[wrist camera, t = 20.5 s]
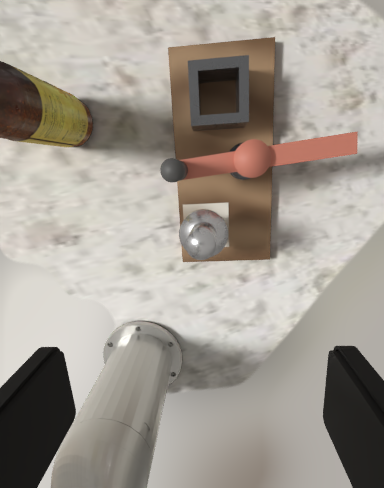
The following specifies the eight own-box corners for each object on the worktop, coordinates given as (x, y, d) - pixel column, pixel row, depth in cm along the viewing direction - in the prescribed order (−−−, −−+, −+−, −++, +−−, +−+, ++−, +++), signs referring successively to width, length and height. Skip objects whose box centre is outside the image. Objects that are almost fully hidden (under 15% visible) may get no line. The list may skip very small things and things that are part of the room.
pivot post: (261, 178, 33) (270, 180, 28) (226, 180, 34) (229, 182, 29) (261, 141, 32) (271, 136, 27) (225, 144, 33) (228, 139, 28)
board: (268, 257, 37) (270, 259, 36) (183, 259, 38) (182, 262, 37) (273, 41, 30) (275, 36, 29) (169, 51, 31) (168, 47, 30)
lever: (173, 188, 29) (164, 193, 23) (167, 154, 28) (157, 150, 23) (350, 162, 27) (386, 160, 21) (350, 124, 26) (388, 112, 21)
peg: (226, 245, 36) (229, 272, 26) (185, 245, 36) (173, 272, 27) (227, 203, 34) (229, 216, 25) (184, 204, 35) (170, 217, 25)
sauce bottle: (82, 88, 33) (-94, -25, 14) (102, 138, 34) (-32, 98, 15) (37, 108, 34) (-185, 27, 15) (59, 156, 35) (-119, 139, 16)
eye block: (244, 127, 32) (248, 121, 28) (193, 131, 33) (190, 126, 29) (244, 69, 30) (248, 54, 27) (190, 74, 31) (187, 60, 27)
